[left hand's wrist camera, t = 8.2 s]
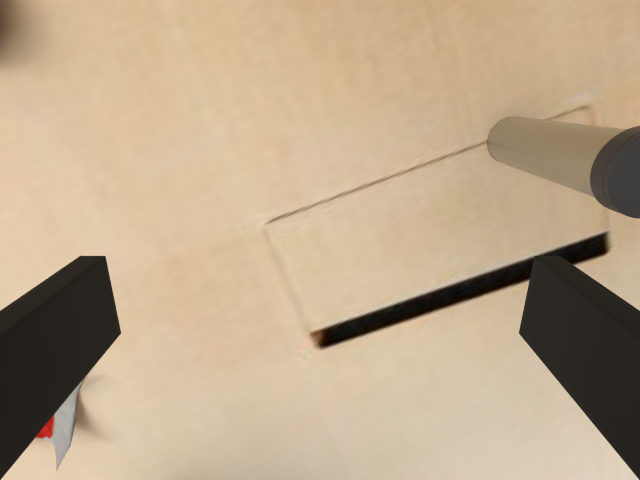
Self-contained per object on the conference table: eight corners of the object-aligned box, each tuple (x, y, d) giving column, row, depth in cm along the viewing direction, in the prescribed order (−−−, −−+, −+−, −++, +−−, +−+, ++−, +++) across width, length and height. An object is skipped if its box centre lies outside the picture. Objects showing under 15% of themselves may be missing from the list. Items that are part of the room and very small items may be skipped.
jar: (518, 107, 36) (670, 116, 20) (540, 143, 37) (700, 179, 21) (478, 136, 37) (595, 167, 21) (501, 171, 38) (627, 225, 22)
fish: (-99, 399, 41) (-131, 491, 34) (63, 328, 46) (66, 395, 39) (-28, 446, 48) (-42, 532, 40) (106, 380, 52) (116, 445, 45)
